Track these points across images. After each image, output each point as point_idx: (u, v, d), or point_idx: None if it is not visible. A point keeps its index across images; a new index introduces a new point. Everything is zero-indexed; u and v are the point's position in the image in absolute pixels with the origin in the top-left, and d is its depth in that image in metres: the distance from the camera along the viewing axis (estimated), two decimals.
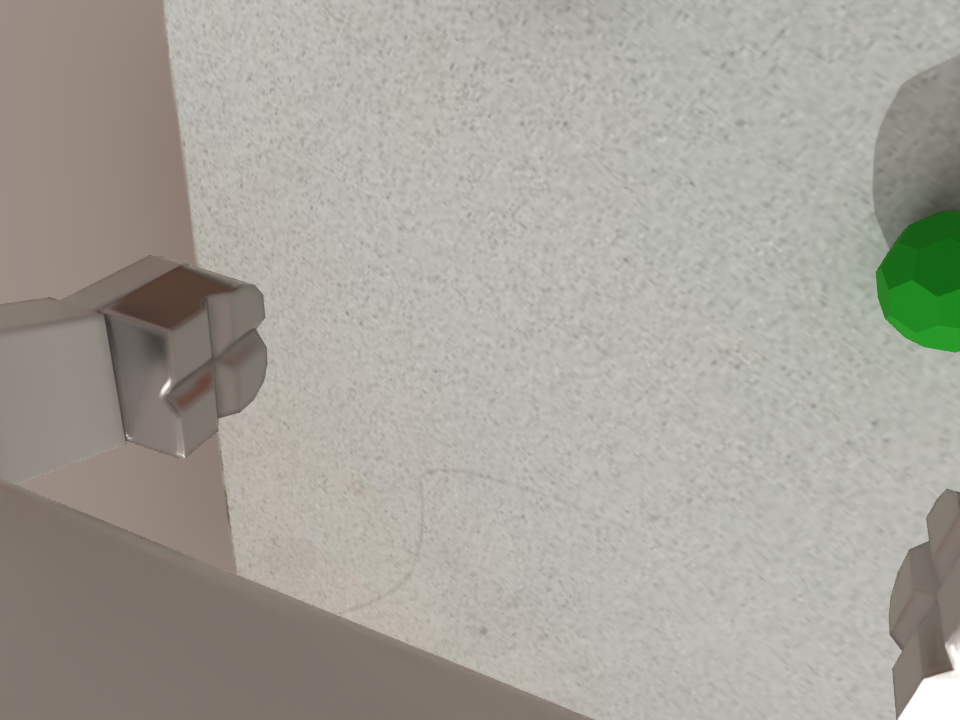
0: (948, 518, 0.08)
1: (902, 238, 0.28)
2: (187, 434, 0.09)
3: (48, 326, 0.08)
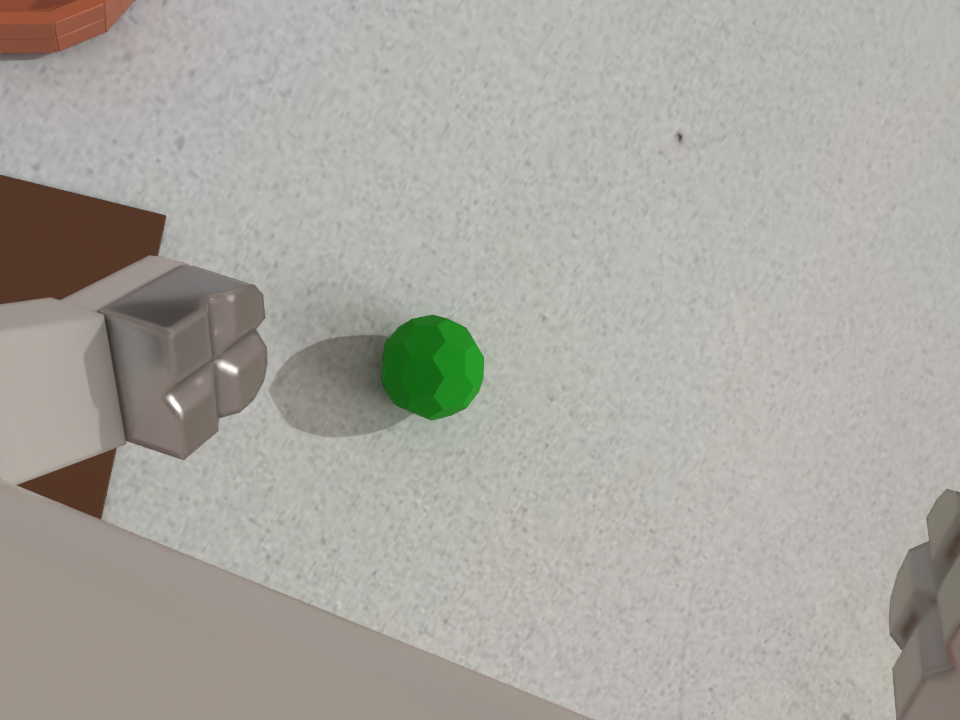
0: (950, 518, 0.08)
1: (404, 407, 0.37)
2: (187, 434, 0.09)
3: (50, 327, 0.08)
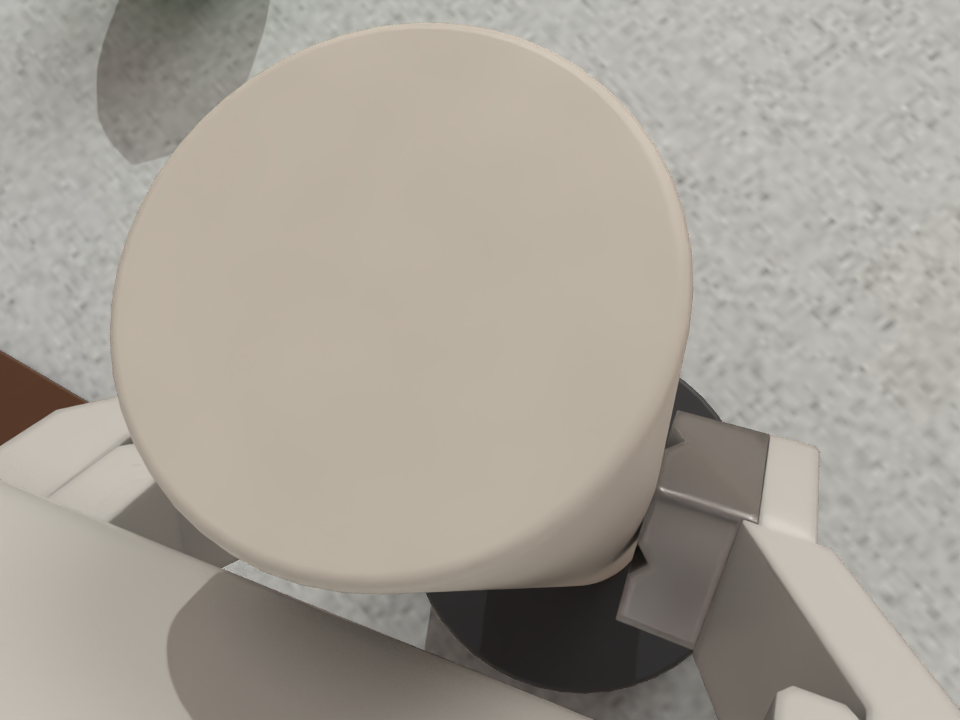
0: None
1: None
2: None
3: None
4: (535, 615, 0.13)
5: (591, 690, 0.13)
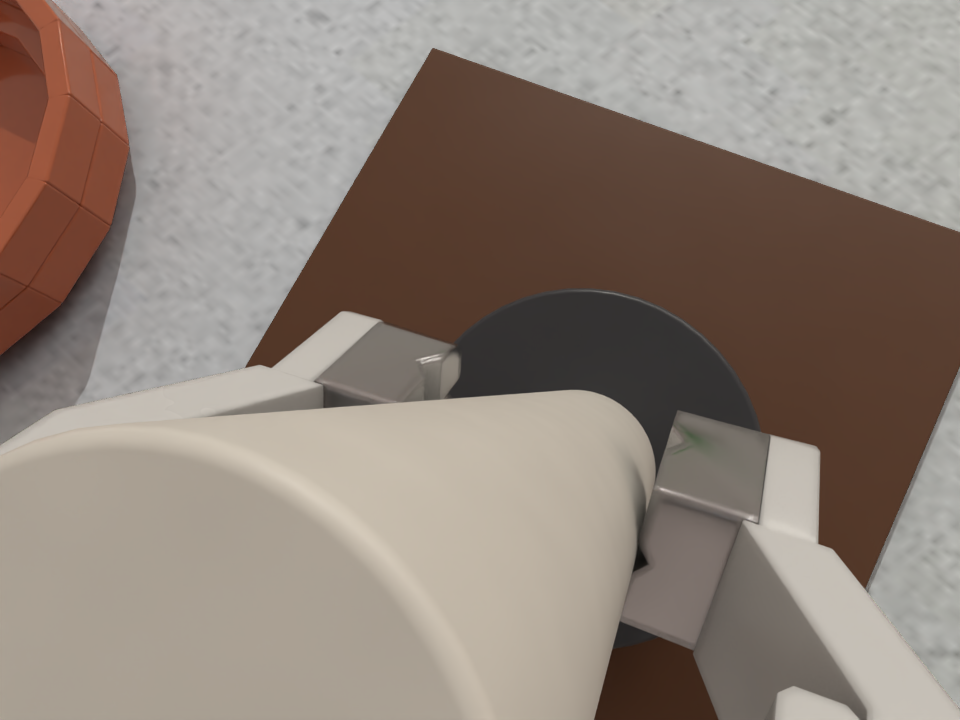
0: (670, 433, 0.08)
1: None
2: None
3: (272, 402, 0.08)
4: None
5: None
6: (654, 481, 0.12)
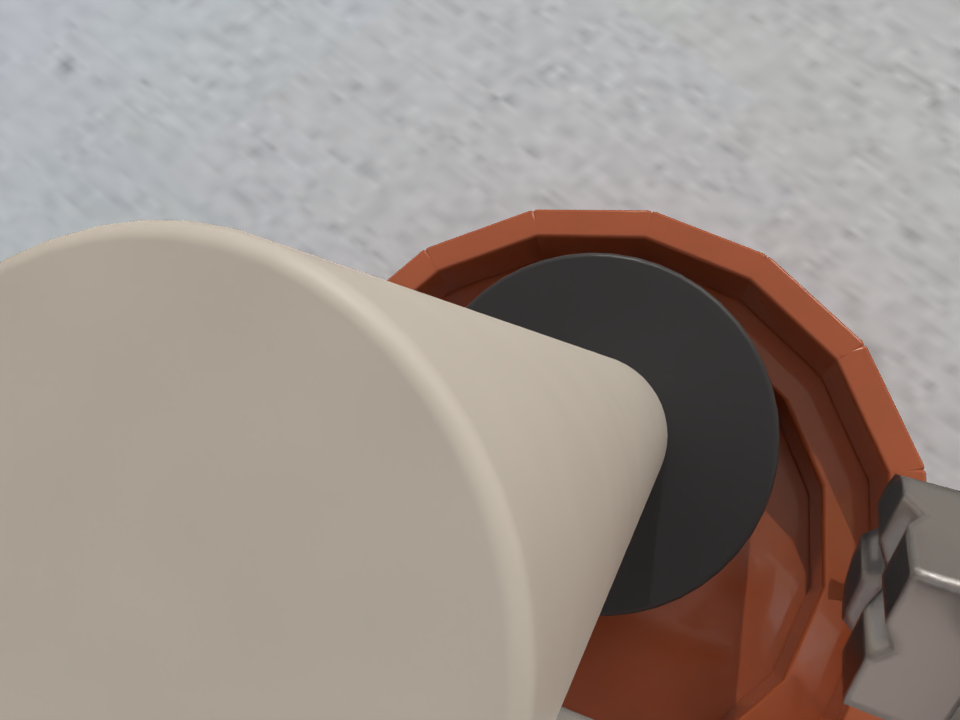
0: (896, 501, 0.08)
1: None
2: None
3: None
4: None
5: None
6: (665, 448, 0.12)
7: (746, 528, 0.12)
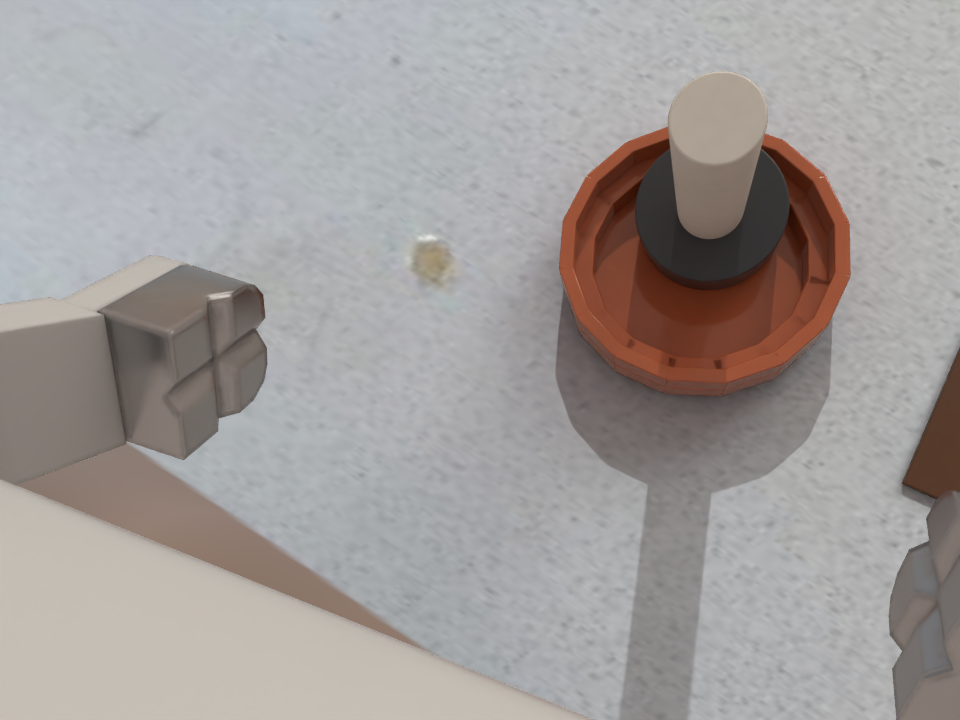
0: (948, 518, 0.08)
1: None
2: (187, 434, 0.09)
3: (49, 326, 0.08)
4: (691, 251, 0.32)
5: (713, 280, 0.32)
6: None
7: (776, 240, 0.31)
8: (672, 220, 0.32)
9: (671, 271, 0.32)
